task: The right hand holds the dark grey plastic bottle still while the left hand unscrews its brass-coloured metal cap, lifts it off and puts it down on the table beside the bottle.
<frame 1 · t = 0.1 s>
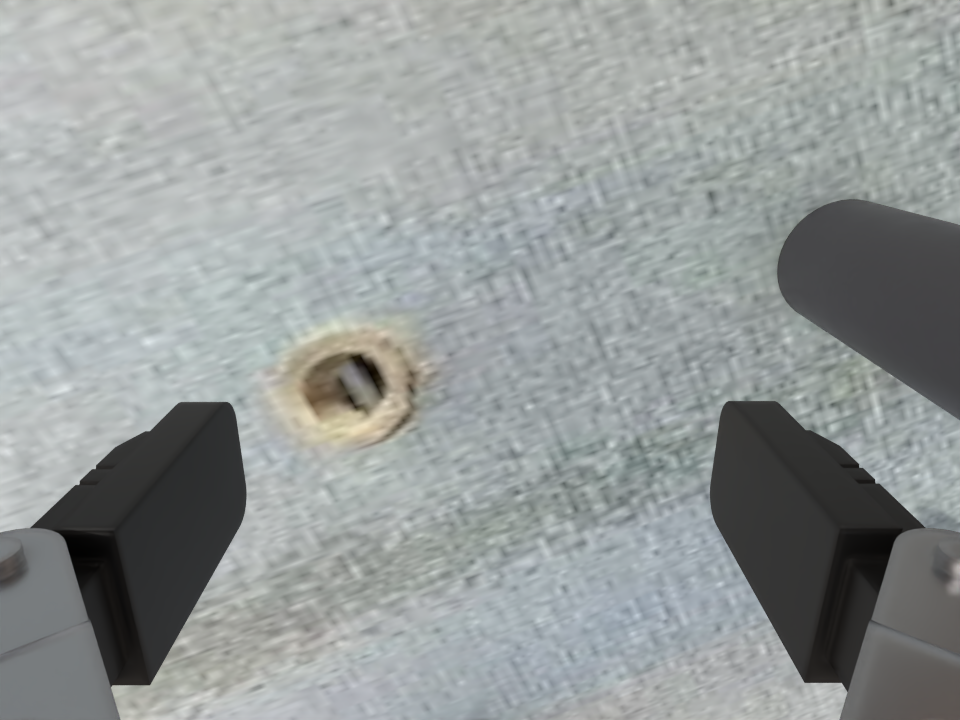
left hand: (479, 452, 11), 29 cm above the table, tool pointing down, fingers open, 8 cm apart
bottle: (839, 262, 40), on the table
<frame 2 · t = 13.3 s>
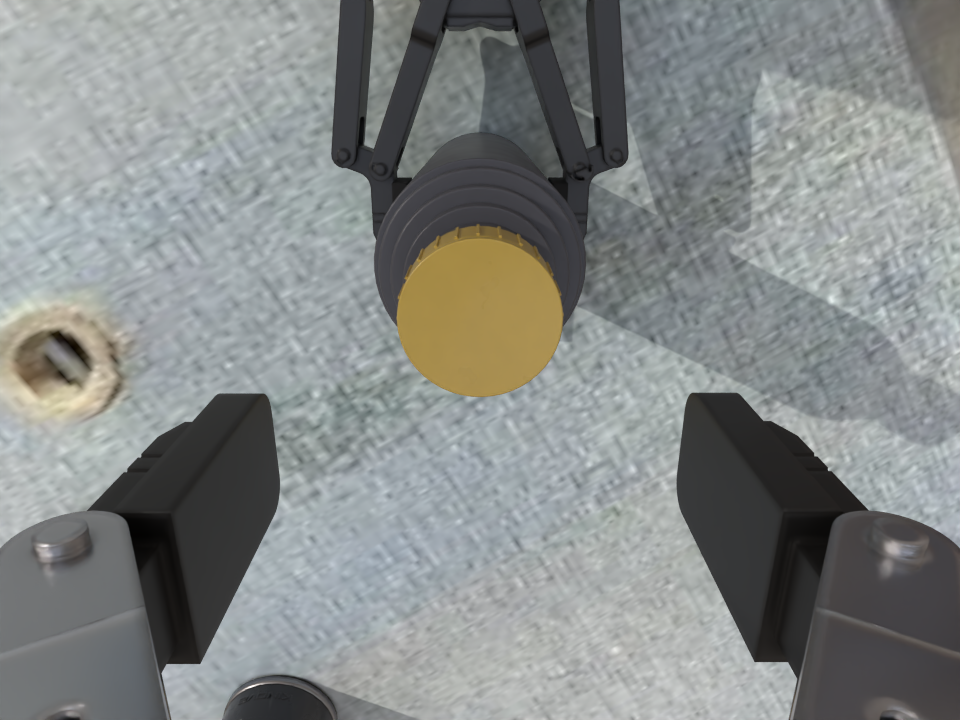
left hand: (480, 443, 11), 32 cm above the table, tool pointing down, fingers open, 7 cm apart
right hand: (480, 300, 37), fingers closed on bottle, 7 cm apart
bottle: (480, 195, 41), on the table, touching right hand
cap: (480, 318, 18), point 25 cm above the table, screwed on, not yet turned
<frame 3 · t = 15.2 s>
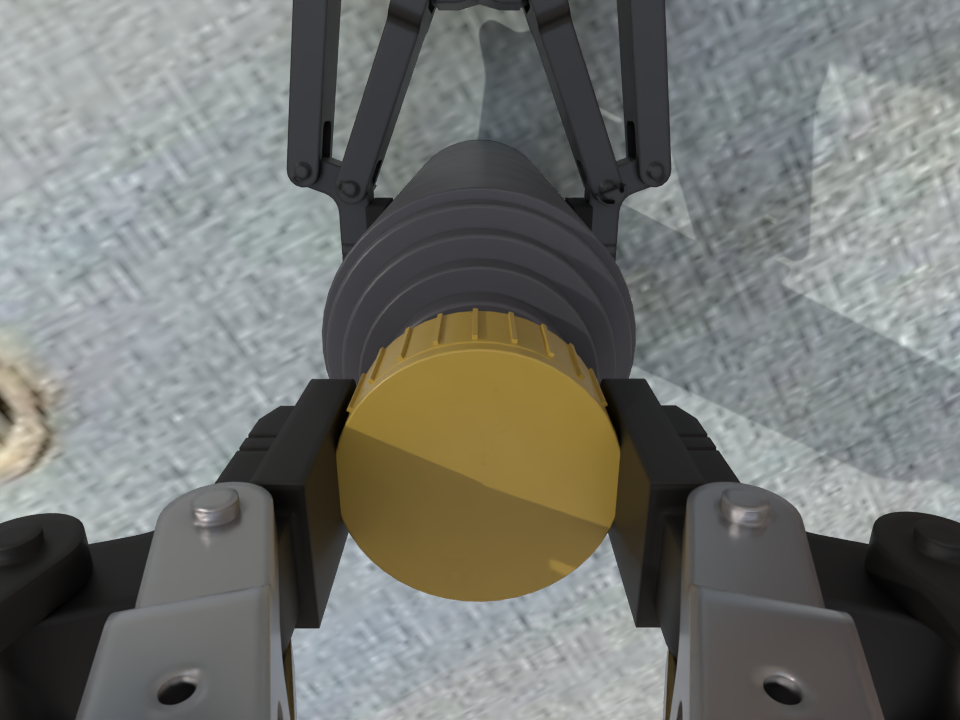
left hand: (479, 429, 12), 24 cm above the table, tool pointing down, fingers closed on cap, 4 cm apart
right hand: (479, 351, 30), fingers closed on bottle, 7 cm apart
bottle: (479, 216, 34), on the table, touching right hand
cap: (478, 475, 10), point 25 cm above the table, screwed on, not yet turned, touching left hand
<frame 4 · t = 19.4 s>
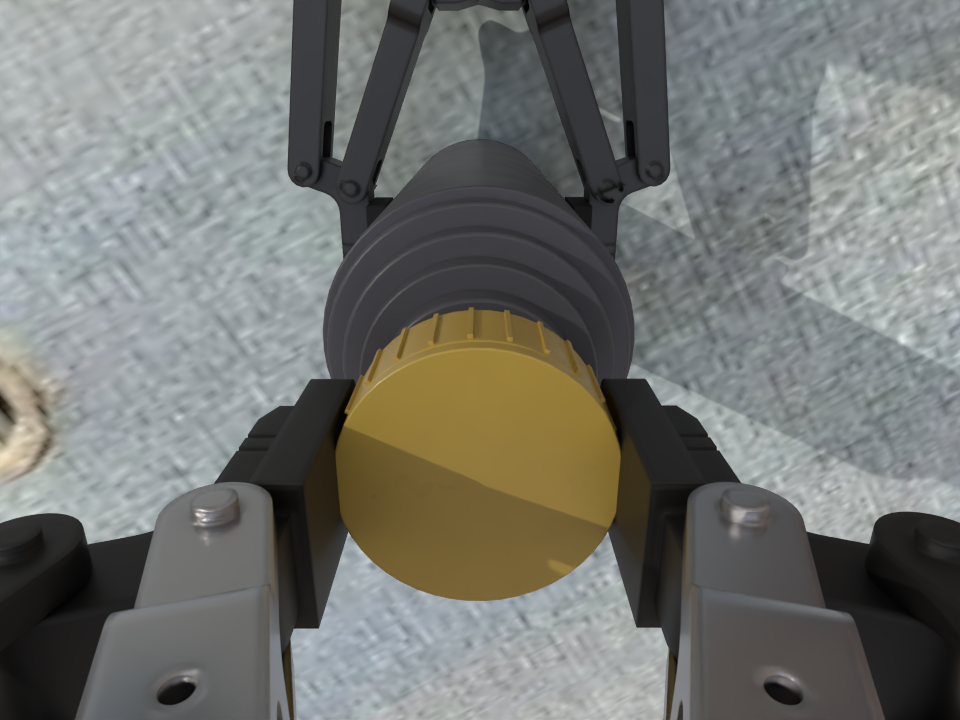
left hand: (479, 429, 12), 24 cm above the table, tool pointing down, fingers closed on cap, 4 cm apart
right hand: (479, 349, 30), fingers closed on bottle, 7 cm apart
bottle: (479, 215, 34), on the table, touching right hand
cap: (478, 474, 10), point 25 cm above the table, turned 106° so far, risen 0.1 cm, still on its thread, touching left hand
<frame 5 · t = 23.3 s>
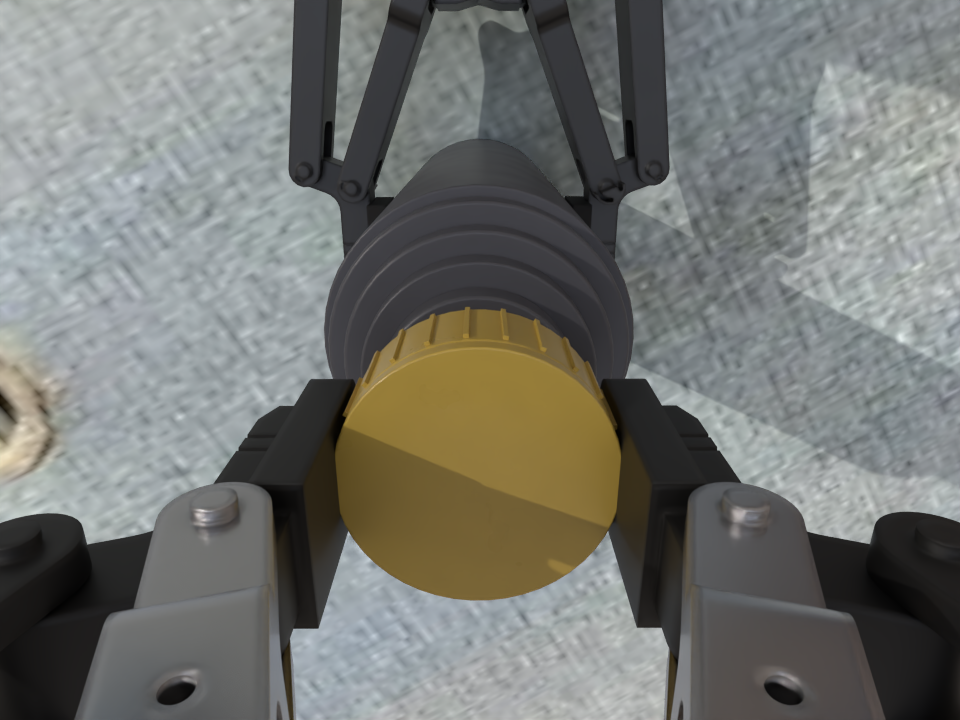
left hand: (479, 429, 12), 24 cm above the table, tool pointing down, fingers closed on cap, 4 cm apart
right hand: (480, 348, 30), fingers closed on bottle, 7 cm apart
bottle: (479, 214, 34), on the table, touching right hand
cap: (478, 474, 10), point 26 cm above the table, turned 213° so far, risen 0.3 cm, still on its thread, touching left hand
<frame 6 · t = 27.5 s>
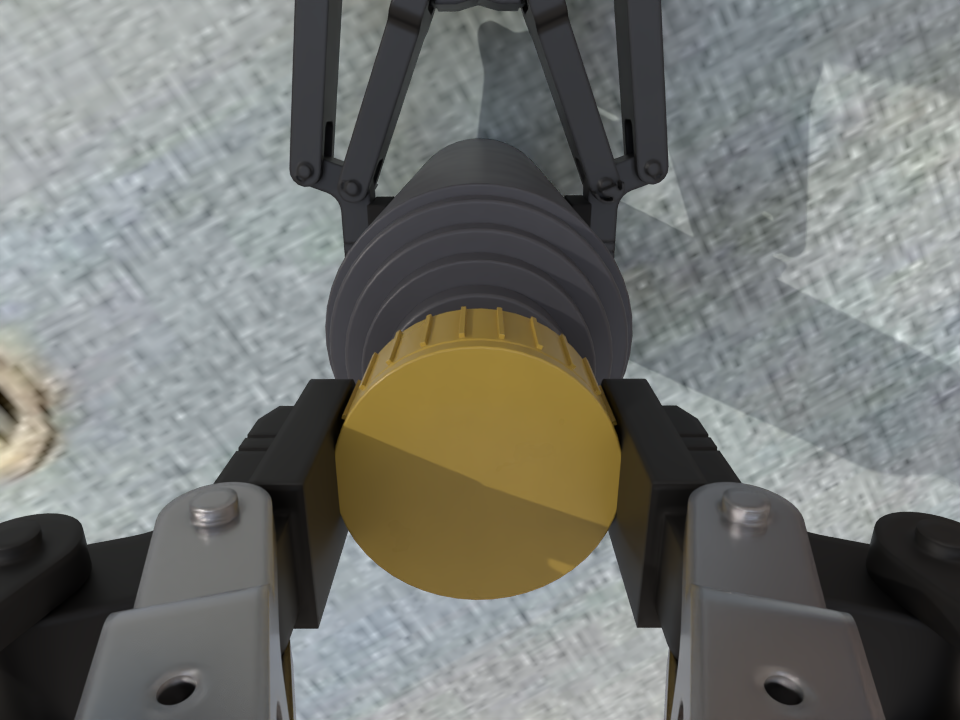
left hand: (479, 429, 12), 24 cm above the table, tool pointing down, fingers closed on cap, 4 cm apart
right hand: (480, 347, 30), fingers closed on bottle, 7 cm apart
bottle: (479, 214, 34), on the table, touching right hand
cap: (478, 473, 10), point 26 cm above the table, turned 319° so far, risen 0.4 cm, still on its thread, touching left hand
when the left hand's fingers open (1 cm above the table, at t = 36.1 s): cap stays where it is, point 2 cm above the table.
when the right hand's fingers open (7 cm above the table, at t = 37.2 s): bottle stays where it is, on the table.
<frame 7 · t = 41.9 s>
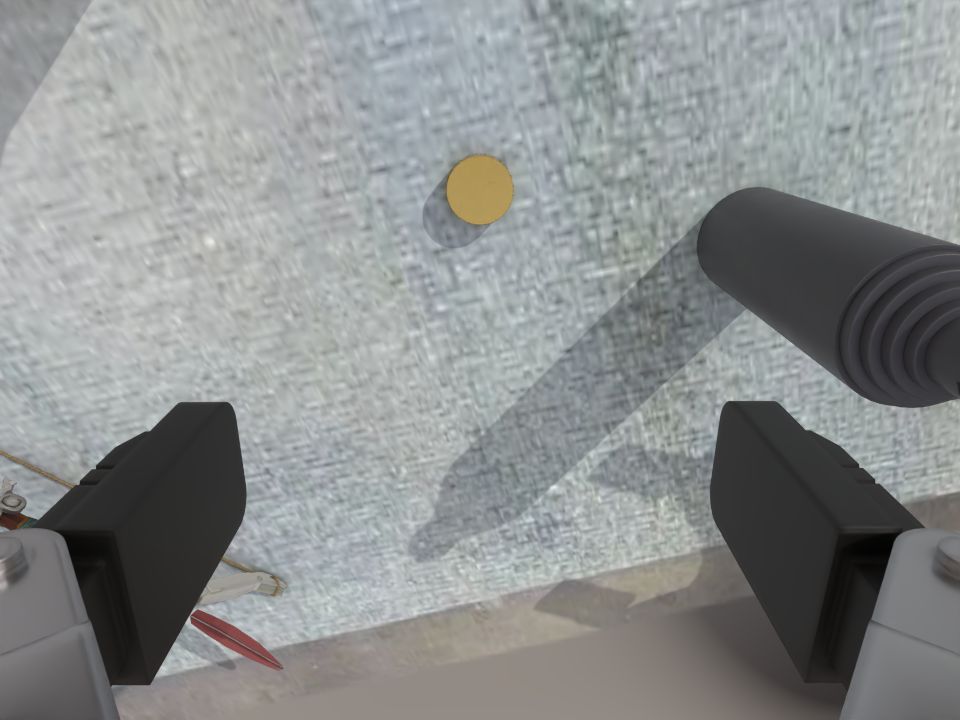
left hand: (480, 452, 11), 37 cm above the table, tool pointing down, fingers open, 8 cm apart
bottle: (749, 241, 47), on the table
bow: (96, 494, 54), on the table
cap: (479, 190, 44), point 2 cm above the table, off its thread
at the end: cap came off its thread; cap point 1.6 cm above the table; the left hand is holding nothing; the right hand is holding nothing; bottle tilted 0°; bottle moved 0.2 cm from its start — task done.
